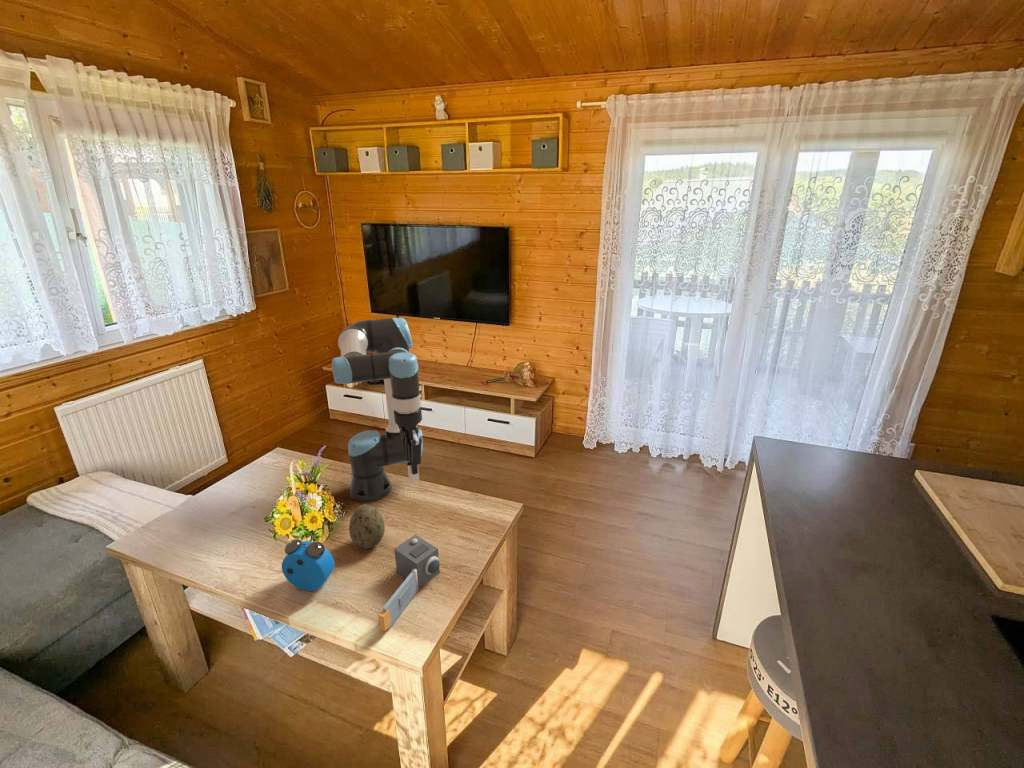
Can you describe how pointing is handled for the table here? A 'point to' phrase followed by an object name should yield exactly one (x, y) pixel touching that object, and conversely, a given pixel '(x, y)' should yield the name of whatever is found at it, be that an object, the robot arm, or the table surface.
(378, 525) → the decorative egg
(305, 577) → the alarm clock
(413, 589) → the side door
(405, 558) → the camera body
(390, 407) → the robot arm
